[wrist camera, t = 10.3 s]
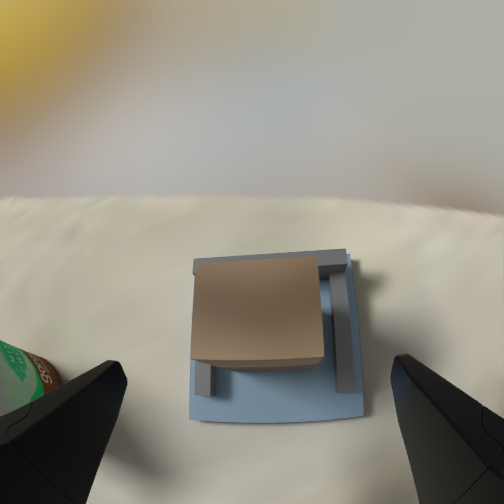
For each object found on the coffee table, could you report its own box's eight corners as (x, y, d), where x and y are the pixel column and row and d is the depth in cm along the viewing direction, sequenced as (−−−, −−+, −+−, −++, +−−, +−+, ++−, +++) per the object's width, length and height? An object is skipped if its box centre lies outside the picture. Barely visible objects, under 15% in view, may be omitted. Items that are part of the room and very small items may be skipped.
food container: (97, 381, 19) (-2, 360, 10) (79, 443, 17) (-17, 446, 8) (19, 323, 23) (-55, 288, 14) (4, 374, 20) (-71, 352, 11)
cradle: (360, 414, 16) (373, 419, 13) (193, 418, 18) (174, 422, 15) (348, 258, 21) (355, 236, 18) (199, 268, 22) (183, 249, 19)
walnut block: (313, 368, 17) (323, 356, 10) (233, 371, 18) (190, 358, 11) (310, 307, 19) (317, 255, 12) (234, 311, 20) (196, 263, 13)
